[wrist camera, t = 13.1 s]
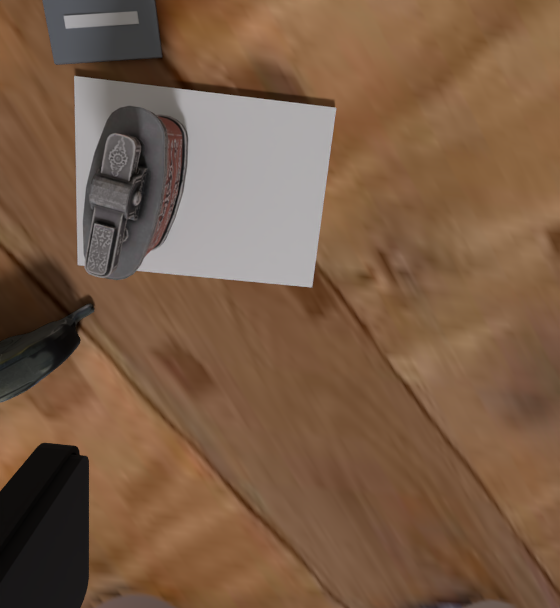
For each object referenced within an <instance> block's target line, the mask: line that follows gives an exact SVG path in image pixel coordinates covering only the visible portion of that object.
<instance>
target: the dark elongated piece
mask: <svg viewBox="0 0 560 608" xmlns="http://www.w3.org/2000/svg"><path fill="white" fill-rule="evenodd" d="M93 312H94V307H93V305H92V304H91V303H90V304H87V305H85V306H83V307H81V308H80V309H78V310H76V311H75V312H73V313H72V314H70V315H68V316H67V317H65V318H63V319H61V320H59V321H55V322H51V323H48V324H46V325H44V326H42V327H40V328H39V329H37V330H35V331H33V332H30V333H27V334H23V335H18V336H13V337H10V338H7V339H5V340H3V341H1V342H0V402H3V401H6V400H9V399H11V398H13V397H15V396H17V395H19V394H21V393H23V392H25V391H27V390H28V389H30V388H31V387H33V386H34V385H35V384H37V383H38V382H39V381H40V380H42V379H43V378H44V377H46V376H47V375H48V374H50V373H51V372H52V371H54V370H55V369H56V368H57V367H59V366H60V365H61V364H62V363H63V362H64V361H65V360H66V359H67V358H68V357H69V356H70V355H71V354H72V353H73V352H74V350H75V349H76V348H77V347H78V345H79V344H80V341H81V340H80V337H79V335H78V334H77V332H76V325H77V322H78V321H80V320H81V319H82V318H84V317H86V316H88V315H89V314H91V313H93Z"/></svg>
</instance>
